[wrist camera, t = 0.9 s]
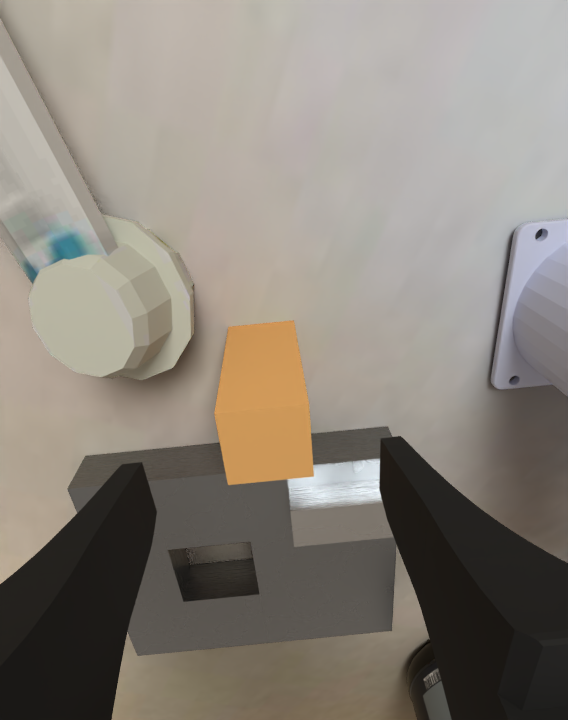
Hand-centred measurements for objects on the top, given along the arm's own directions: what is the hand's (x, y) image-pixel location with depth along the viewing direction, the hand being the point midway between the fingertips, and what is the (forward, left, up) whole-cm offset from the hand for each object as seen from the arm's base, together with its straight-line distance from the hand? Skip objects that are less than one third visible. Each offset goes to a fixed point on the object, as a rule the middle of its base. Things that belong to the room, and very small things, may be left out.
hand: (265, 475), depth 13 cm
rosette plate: (+2, +12, -8) cm, 15 cm away
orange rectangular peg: (0, 0, -8) cm, 8 cm away
